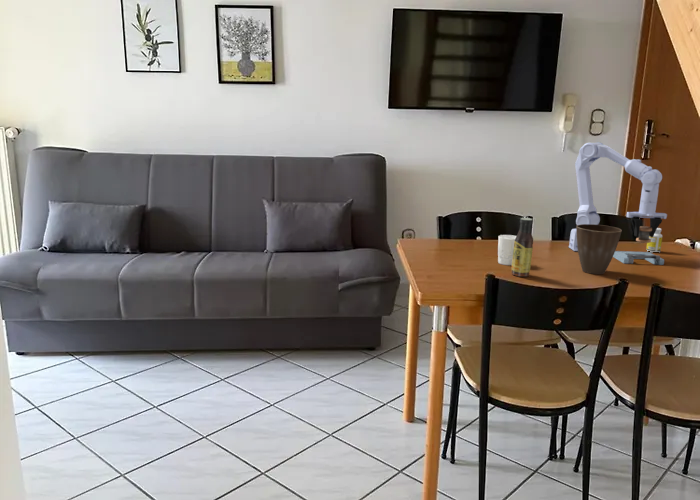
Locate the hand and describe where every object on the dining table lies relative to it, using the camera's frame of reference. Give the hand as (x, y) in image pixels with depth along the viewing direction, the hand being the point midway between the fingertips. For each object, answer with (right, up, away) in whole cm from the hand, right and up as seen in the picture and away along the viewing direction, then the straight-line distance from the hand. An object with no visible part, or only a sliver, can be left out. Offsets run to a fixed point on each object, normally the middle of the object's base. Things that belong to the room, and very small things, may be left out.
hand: (643, 236), depth 237 cm
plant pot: (-27, -13, -19) cm, 35 cm away
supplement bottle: (+13, -6, +18) cm, 23 cm away
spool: (0, -2, +1) cm, 2 cm away
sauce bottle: (-55, -14, -26) cm, 63 cm away
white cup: (-56, -10, -10) cm, 57 cm away
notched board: (-2, -9, +2) cm, 10 cm away
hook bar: (-2, -10, -4) cm, 11 cm away
